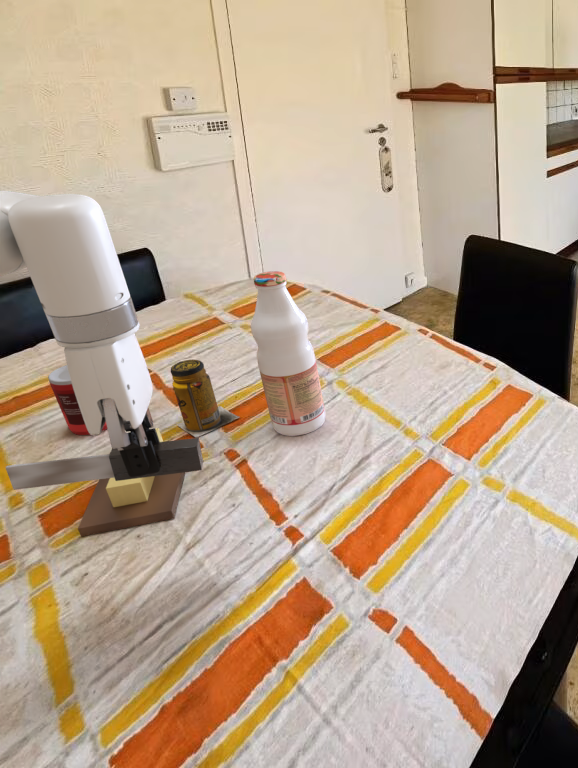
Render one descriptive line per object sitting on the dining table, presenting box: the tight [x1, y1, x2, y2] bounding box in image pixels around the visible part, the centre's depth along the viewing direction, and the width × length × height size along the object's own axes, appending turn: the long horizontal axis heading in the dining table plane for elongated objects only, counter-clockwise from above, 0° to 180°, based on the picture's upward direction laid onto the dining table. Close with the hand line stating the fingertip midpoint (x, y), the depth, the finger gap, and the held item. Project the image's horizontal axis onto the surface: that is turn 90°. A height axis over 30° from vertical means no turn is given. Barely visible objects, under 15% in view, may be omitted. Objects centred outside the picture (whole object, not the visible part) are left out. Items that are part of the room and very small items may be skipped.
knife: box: [5, 437, 204, 491], centre depth 71 cm, size 19×2×3 cm, turn 109°
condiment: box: [170, 359, 241, 438], centre depth 111 cm, size 7×8×12 cm
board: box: [77, 472, 186, 537], centre depth 97 cm, size 12×19×2 cm, turn 18°
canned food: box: [47, 364, 108, 436], centre depth 111 cm, size 8×8×11 cm
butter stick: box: [106, 476, 155, 507], centre depth 94 cm, size 4×8×4 cm, turn 17°
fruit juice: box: [250, 270, 326, 437], centre depth 107 cm, size 9×9×28 cm
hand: (147, 465), depth 73 cm, fingers closed on knife, 2 cm apart
